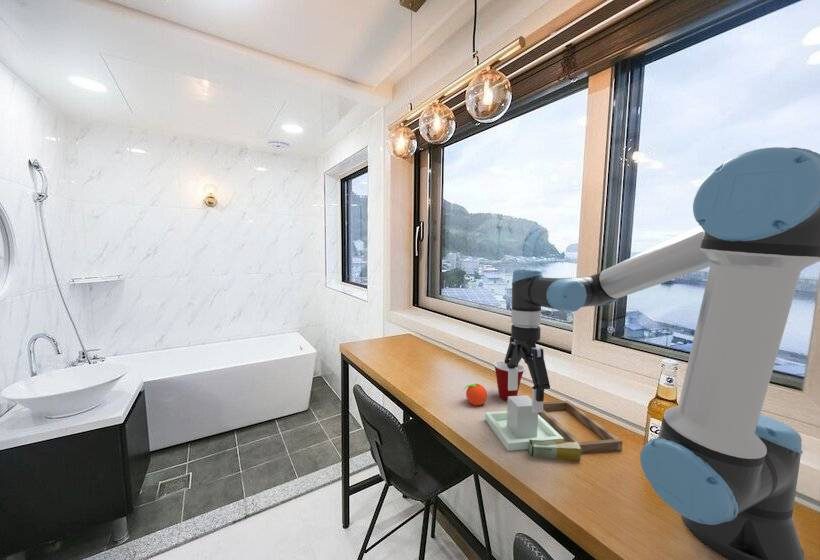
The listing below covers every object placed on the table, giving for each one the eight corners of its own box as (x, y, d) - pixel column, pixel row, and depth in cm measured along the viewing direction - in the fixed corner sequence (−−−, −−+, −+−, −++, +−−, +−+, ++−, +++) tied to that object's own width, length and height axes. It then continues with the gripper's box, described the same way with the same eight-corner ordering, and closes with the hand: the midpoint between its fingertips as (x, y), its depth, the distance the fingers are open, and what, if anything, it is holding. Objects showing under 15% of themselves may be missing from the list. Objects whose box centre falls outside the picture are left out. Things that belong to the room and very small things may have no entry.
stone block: (537, 436, 86) (538, 405, 86) (516, 438, 86) (517, 406, 85) (526, 424, 92) (527, 395, 91) (506, 426, 91) (507, 396, 91)
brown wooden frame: (621, 450, 82) (622, 441, 82) (578, 454, 80) (579, 445, 80) (567, 407, 104) (567, 400, 104) (532, 410, 103) (532, 403, 102)
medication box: (530, 460, 79) (531, 446, 78) (527, 452, 81) (528, 438, 80) (580, 462, 77) (582, 448, 77) (576, 454, 80) (577, 440, 79)
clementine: (464, 409, 103) (464, 388, 102) (461, 399, 110) (461, 379, 109) (488, 409, 103) (489, 388, 102) (484, 399, 110) (484, 379, 109)
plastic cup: (530, 398, 111) (531, 365, 110) (513, 408, 104) (514, 373, 103) (503, 387, 119) (504, 357, 118) (486, 396, 112) (487, 363, 111)
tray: (563, 449, 83) (563, 438, 82) (507, 454, 80) (508, 443, 80) (532, 418, 98) (532, 409, 97) (485, 421, 96) (485, 412, 95)
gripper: (567, 335, 74) (564, 422, 76) (516, 316, 99) (515, 381, 100) (537, 336, 73) (535, 424, 75) (494, 316, 98) (493, 383, 99)
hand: (524, 400), depth 88 cm, fingers open, 13 cm apart
